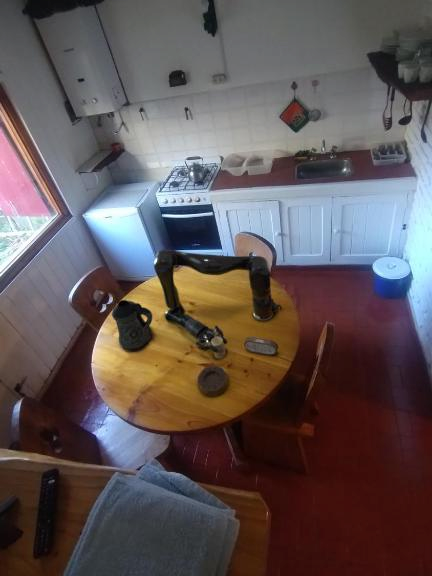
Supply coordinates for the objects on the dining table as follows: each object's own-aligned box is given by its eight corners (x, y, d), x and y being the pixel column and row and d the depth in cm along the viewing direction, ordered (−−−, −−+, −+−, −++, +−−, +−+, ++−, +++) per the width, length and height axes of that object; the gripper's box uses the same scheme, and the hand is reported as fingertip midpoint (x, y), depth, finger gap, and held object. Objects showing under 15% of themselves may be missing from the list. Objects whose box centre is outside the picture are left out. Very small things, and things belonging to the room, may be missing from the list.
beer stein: (118, 334, 178) (100, 299, 163) (154, 320, 182) (140, 284, 167) (124, 357, 166) (106, 321, 150) (162, 341, 170) (148, 304, 154)
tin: (278, 351, 154) (278, 339, 149) (277, 357, 152) (276, 345, 146) (246, 346, 159) (244, 334, 154) (244, 351, 157) (242, 339, 152)
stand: (218, 367, 153) (217, 361, 150) (233, 386, 144) (231, 381, 141) (195, 380, 149) (193, 375, 147) (208, 401, 140) (206, 396, 138)
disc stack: (222, 347, 161) (219, 334, 155) (227, 354, 157) (224, 341, 152) (212, 352, 159) (209, 340, 154) (217, 360, 156) (214, 347, 150)
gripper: (183, 332, 157) (208, 351, 146) (206, 314, 164) (231, 331, 153) (186, 343, 162) (211, 362, 151) (208, 325, 169) (233, 342, 158)
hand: (221, 346), depth 152 cm, fingers closed on disc stack, 5 cm apart
